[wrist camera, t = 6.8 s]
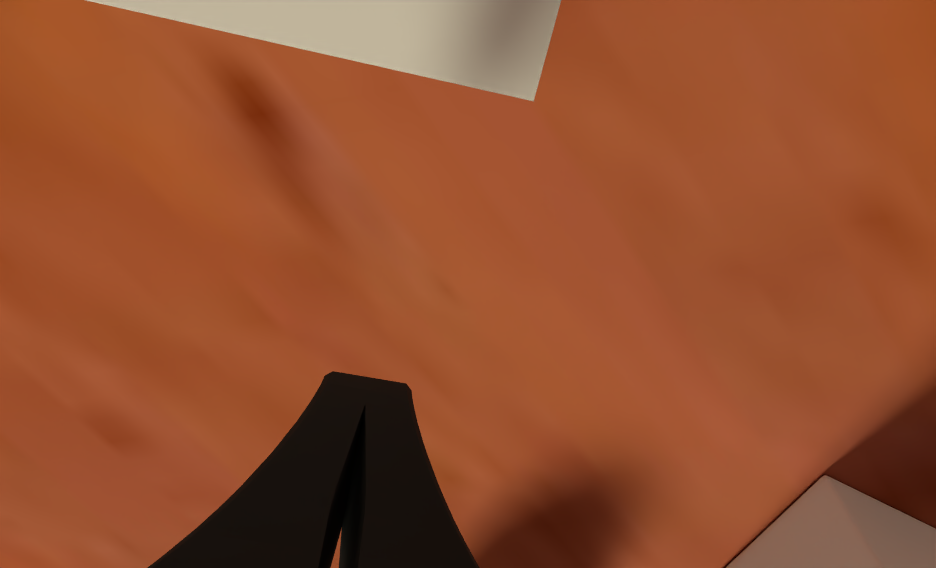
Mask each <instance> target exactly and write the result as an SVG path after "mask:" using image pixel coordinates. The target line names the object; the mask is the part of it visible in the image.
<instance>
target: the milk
mask: <svg viewBox="0 0 936 568" xmlns="http://www.w3.org/2000/svg"><path fill="white" fill-rule="evenodd" d="M726 568H936V529H935V528H933V527H931V526H929V525H927V524H925V523H923V522H921V521H919V520H917V519H915V518H913V517H911V516H909V515H907V514H905V513H903V512H901V511H899V510H896V509H894V508H892V507H890V506H888V505H886V504H884V503H882V502H880V501H878V500H876V499H874V498H872V497H870V496H868V495H866V494H864V493H862V492H860V491H857V490H855V489H853V488H851V487H849V486H847V485H845V484H843V483H841V482H839V481H837V480H835V479H833V478H831V477H829V476H827V475H824V476H822V477H821V478H820V479H819V480H818V481H817V482H816V483H815V484H814V485H813V486H812V487H811V488H809V489H808V490H807V491H806V492H805V493H804V494H803V495H802V496H801V497H800V498H799V499H798V500H797V501H796V502H795V503H794V504H793V505H791V506H790V507H789V508H788V509H787V510H786V511H785V512H784V513H783V514H782V515H781V516H780V517H779V518H778V519H777V520H776V521H775V522H773V523H772V524H771V525H770V526H769V527H768V528H767V529H766V530H765V531H764V532H763V533H762V534H761V535H760V536H759V537H758V538H757V539H755V540H754V541H753V542H752V543H751V544H750V545H749V546H748V547H747V548H746V549H745V550H744V551H743V552H742V553H741V554H740V555H739V556H737V557H736V558H735V559H734V560H733V561H732V562H731V563H730V564H729V565H728V566H727V567H726Z"/></svg>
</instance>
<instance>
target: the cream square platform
mask: <svg viewBox="0 0 936 568" xmlns="http://www.w3.org/2000/svg"><path fill="white" fill-rule="evenodd" d="M87 1H92V2H96V3H100V4H105V5H109V6H114V7H118V8H123V9H127V10H131V11H136V12H140V13H145V14H149V15H154V16H158V17H162V18H167V19H171V20H176V21H180V22H185V23H189V24H193V25H198V26H202V27H207V28H211V29H216V30H220V31H225V32H229V33H233V34H238V35H242V36H247V37H251V38H256V39H260V40H264V41H269V42H273V43H278V44H282V45H287V46H291V47H295V48H300V49H304V50H309V51H313V52H318V53H322V54H326V55H331V56H335V57H340V58H344V59H349V60H353V61H358V62H362V63H366V64H371V65H375V66H380V67H384V68H389V69H393V70H397V71H402V72H406V73H411V74H415V75H420V76H424V77H428V78H433V79H437V80H442V81H446V82H451V83H455V84H459V85H464V86H468V87H473V88H477V89H482V90H486V91H490V92H495V93H499V94H504V95H508V96H513V97H517V98H522V99H526V100H530V101H534V98H535V94H536V90H537V87H538V83H539V79H540V76H541V72H542V68H543V65H544V61H545V57H546V54H547V50H548V46H549V43H550V39H551V35H552V32H553V28H554V24H555V21H556V17H557V13H558V10H559V6H560V2H561V0H87Z"/></svg>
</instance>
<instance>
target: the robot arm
mask: <svg viewBox="0 0 936 568" xmlns="http://www.w3.org/2000/svg"><path fill="white" fill-rule="evenodd" d="M341 528H342V533H341V546H340V559H339V568H479V566H478V564H477V563H476V561H475V559H474V557H473V555H472V554H471V552H470V550H469V548H468V547H467V545H466V543H465V541H464V539H463V537H462V535H461V533H460V531H459V529H458V527H457V525H456V523H455V521H454V519H453V517H452V514H451V512H450V510H449V508H448V506H447V503H446V501H445V499H444V497H443V494H442V492H441V489H440V487H439V485H438V482H437V480H436V477H435V474H434V471H433V469H432V466H431V463H430V461H429V458H428V455H427V452H426V449H425V446H424V443H423V440H422V437H421V433H420V430H419V426H418V423H417V419H416V415H415V410H414V405H413V400H412V391H411V389H410V388H409V387H408V385H407V384H406V383H400V382H394V381H388V380H382V379H376V378H370V377H364V376H358V375H352V374H346V373H340V372H334V371H332V372H331V373H329V374H327V375H325V376H324V379H323V381H322V383H321V385H320V387H319V389H318V390H317V392H316V394H315V395H314V397H313V399H312V400H311V402H310V403H309V405H308V406H307V408H306V409H305V411H304V412H303V413H302V415H301V416H300V418H299V419H298V420H297V422H296V423H295V424H294V426H293V427H292V428H291V429H290V431H289V432H288V433H287V434H286V436H285V437H284V438H283V439H282V441H281V442H280V443H279V444H278V446H277V447H276V448H275V449H274V451H273V452H272V453H271V454H270V455H269V456H268V457H267V459H266V460H265V461H264V462H263V463H262V464H261V465H260V466H259V467H258V468H257V469H256V470H255V472H254V473H253V474H252V475H251V476H250V477H249V478H248V479H247V480H246V481H245V482H244V484H243V485H242V486H241V487H240V488H239V489H238V490H237V491H236V492H235V493H234V494H233V495H232V496H231V497H230V498H229V499H228V500H227V501H226V502H225V503H223V504H222V505H221V506H220V507H219V508H218V509H217V510H216V511H215V512H214V513H213V514H212V515H211V516H209V517H208V518H207V519H206V520H205V521H204V522H203V523H202V524H201V525H199V526H198V527H197V528H196V529H195V530H194V531H192V532H191V533H190V534H189V535H188V536H186V537H185V538H184V539H183V540H182V541H180V542H179V543H178V544H177V545H175V546H174V547H173V548H172V549H171V550H169V551H168V552H167V553H166V554H165V555H163V556H162V557H161V558H159V559H158V560H157V561H156V562H154V563H153V564H152V565H150V566H149V567H148V568H330V567H331V564H332V560H333V557H334V553H335V549H336V546H337V542H338V539H339V535H340V532H341Z"/></svg>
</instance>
